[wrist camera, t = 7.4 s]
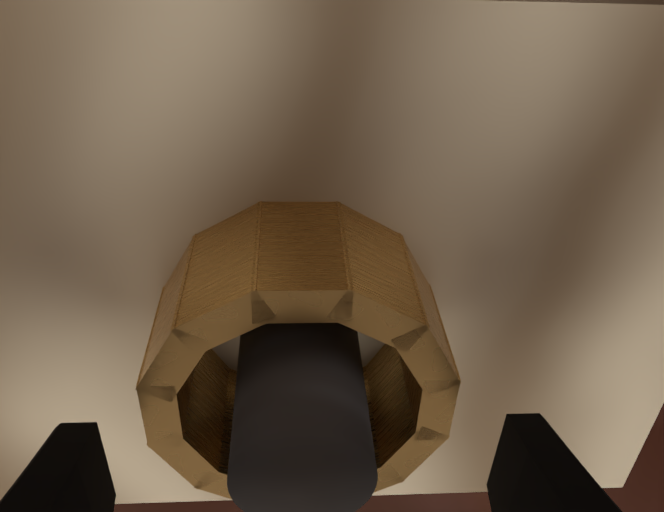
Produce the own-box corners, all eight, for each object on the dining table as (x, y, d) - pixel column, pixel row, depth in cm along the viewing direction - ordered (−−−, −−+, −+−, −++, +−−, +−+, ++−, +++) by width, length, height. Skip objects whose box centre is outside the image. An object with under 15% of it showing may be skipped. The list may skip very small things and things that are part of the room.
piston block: (798, -9, 12) (1139, 96, 7) (602, 447, 20) (704, 645, 15) (-264, -37, 11) (-716, 69, 6) (-32, 465, 19) (-146, 689, 14)
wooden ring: (444, 200, 13) (482, 288, 10) (412, 402, 16) (435, 503, 14) (149, 200, 12) (114, 291, 10) (180, 407, 16) (160, 513, 13)
